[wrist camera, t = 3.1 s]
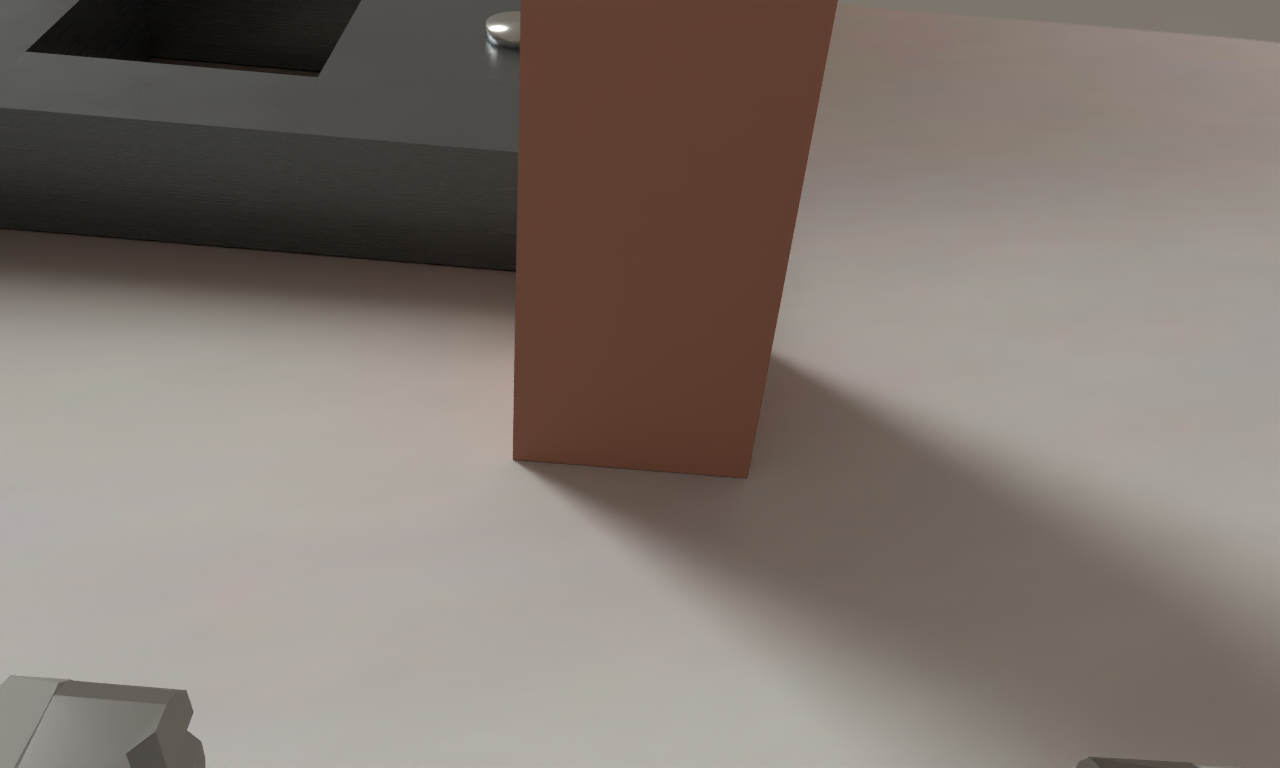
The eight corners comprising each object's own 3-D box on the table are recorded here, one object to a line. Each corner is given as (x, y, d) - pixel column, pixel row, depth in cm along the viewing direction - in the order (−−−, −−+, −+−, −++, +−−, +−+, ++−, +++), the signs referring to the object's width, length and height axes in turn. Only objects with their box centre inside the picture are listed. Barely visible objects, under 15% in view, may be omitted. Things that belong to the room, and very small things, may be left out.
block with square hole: (619, 58, 36) (627, -50, 34) (596, 277, 27) (605, 147, 25) (-41, -1, 36) (-74, -114, 34) (-298, 202, 26) (-366, 62, 24)
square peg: (739, 337, 26) (819, -151, 19) (747, 477, 22) (849, -60, 16) (536, 320, 25) (551, -176, 19) (513, 459, 22) (522, -91, 16)
